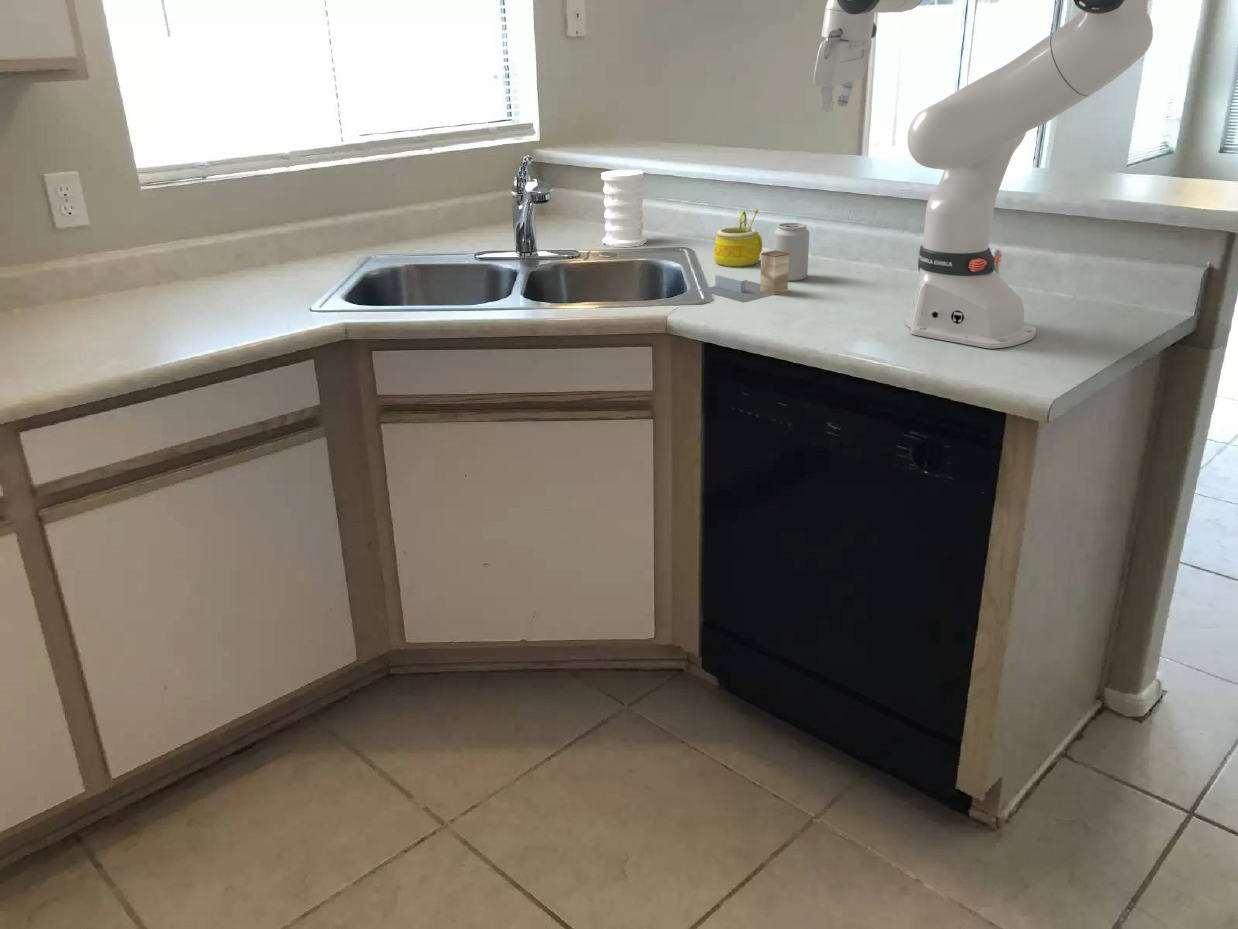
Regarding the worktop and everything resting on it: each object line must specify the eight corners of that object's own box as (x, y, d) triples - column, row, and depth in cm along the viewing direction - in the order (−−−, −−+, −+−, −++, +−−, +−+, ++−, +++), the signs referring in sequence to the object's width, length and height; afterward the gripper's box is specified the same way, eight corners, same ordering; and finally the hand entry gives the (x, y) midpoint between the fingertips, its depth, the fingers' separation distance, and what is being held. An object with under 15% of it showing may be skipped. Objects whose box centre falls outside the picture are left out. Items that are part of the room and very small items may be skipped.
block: (787, 291, 196) (789, 252, 193) (773, 294, 194) (775, 255, 191) (773, 287, 199) (775, 250, 196) (760, 291, 197) (761, 253, 194)
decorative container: (630, 237, 256) (628, 168, 248) (654, 243, 247) (653, 172, 240) (594, 242, 250) (591, 172, 243) (617, 249, 241) (615, 177, 234)
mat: (789, 292, 197) (789, 290, 196) (743, 304, 190) (743, 302, 190) (742, 281, 207) (742, 279, 207) (698, 291, 200) (698, 289, 200)
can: (805, 275, 210) (808, 220, 205) (808, 283, 203) (811, 227, 198) (771, 275, 211) (773, 221, 206) (773, 283, 204) (775, 227, 199)
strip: (745, 291, 197) (745, 280, 196) (740, 292, 197) (741, 281, 196) (719, 284, 203) (719, 273, 202) (715, 285, 202) (715, 274, 201)
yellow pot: (732, 272, 215) (732, 218, 210) (704, 263, 224) (704, 212, 219) (776, 263, 221) (777, 211, 216) (747, 256, 230) (748, 205, 225)
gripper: (846, 32, 161) (833, 117, 168) (879, 27, 177) (866, 104, 184) (811, 28, 164) (799, 112, 171) (847, 24, 180) (835, 100, 186)
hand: (834, 108), depth 177 cm, fingers open, 8 cm apart
